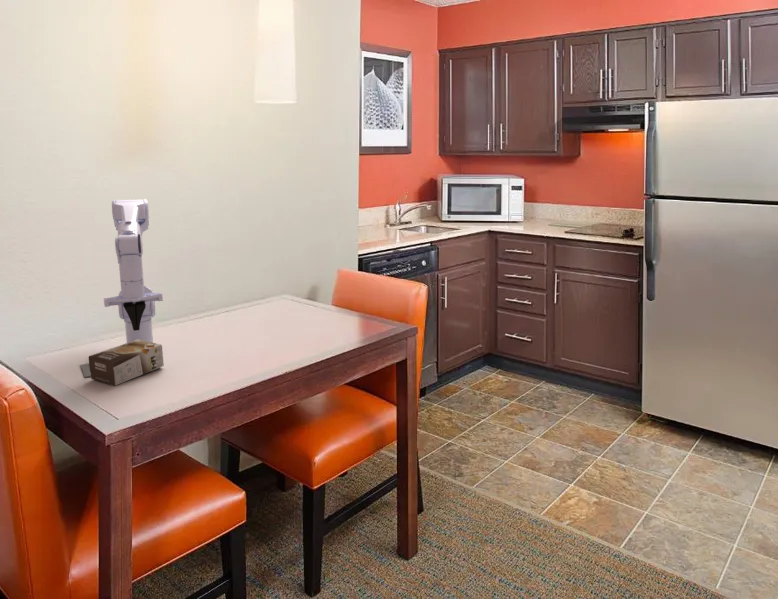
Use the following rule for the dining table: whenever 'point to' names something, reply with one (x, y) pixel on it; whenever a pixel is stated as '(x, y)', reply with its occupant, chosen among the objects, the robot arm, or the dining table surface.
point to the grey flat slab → (86, 370)
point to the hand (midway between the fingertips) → (136, 329)
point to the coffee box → (126, 362)
